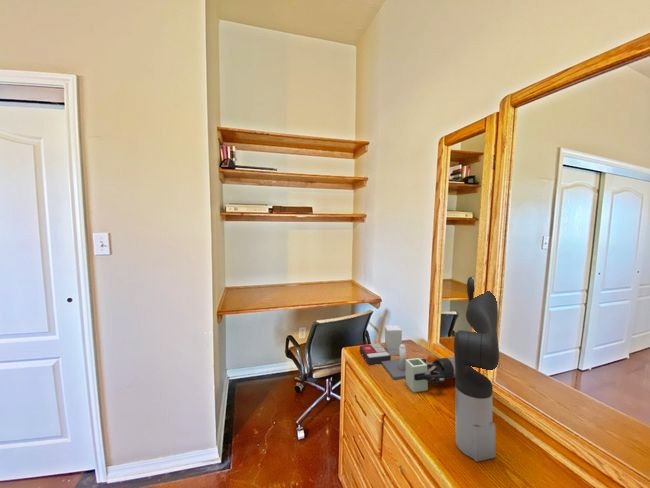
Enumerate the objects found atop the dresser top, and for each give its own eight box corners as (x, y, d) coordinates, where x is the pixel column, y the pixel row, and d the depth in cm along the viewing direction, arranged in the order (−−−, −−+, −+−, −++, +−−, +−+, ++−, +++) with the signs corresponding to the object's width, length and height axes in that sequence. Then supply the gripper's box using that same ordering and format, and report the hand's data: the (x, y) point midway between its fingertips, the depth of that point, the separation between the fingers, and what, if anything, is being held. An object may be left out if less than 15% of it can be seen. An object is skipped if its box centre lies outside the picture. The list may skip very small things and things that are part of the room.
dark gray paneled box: (379, 342, 140) (390, 354, 125) (380, 350, 140) (391, 363, 125) (359, 344, 138) (368, 356, 123) (359, 352, 138) (368, 366, 123)
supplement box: (402, 355, 132) (402, 330, 131) (387, 355, 133) (386, 330, 132) (399, 348, 139) (398, 324, 139) (384, 348, 140) (384, 325, 139)
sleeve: (427, 390, 103) (427, 365, 103) (413, 392, 102) (412, 367, 102) (419, 381, 109) (419, 357, 109) (405, 383, 108) (405, 359, 108)
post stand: (422, 375, 113) (422, 347, 113) (393, 380, 111) (393, 351, 110) (406, 360, 127) (406, 334, 126) (381, 363, 125) (380, 337, 124)
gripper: (438, 350, 115) (401, 355, 112) (461, 367, 101) (419, 373, 98) (438, 367, 115) (402, 372, 112) (461, 386, 101) (420, 393, 98)
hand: (410, 373), depth 105 cm, fingers closed on sleeve, 6 cm apart
